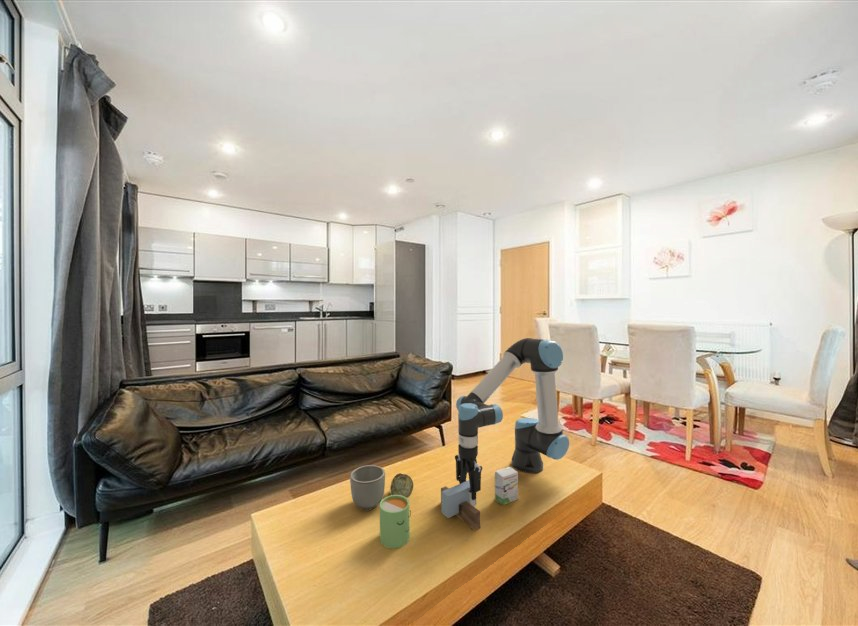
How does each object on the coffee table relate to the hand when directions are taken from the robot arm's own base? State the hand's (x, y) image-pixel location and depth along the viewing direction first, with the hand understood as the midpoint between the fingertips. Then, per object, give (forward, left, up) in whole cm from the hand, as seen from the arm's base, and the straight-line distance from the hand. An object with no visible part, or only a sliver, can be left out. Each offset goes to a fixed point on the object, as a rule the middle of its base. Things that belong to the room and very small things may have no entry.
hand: (468, 503), depth 127 cm
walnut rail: (+4, 0, -3) cm, 5 cm away
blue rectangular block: (+5, 0, 0) cm, 5 cm away
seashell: (+16, -23, -3) cm, 28 cm away
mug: (+29, -4, -3) cm, 30 cm away
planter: (+30, -26, -3) cm, 40 cm away
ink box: (-18, +4, -3) cm, 18 cm away
